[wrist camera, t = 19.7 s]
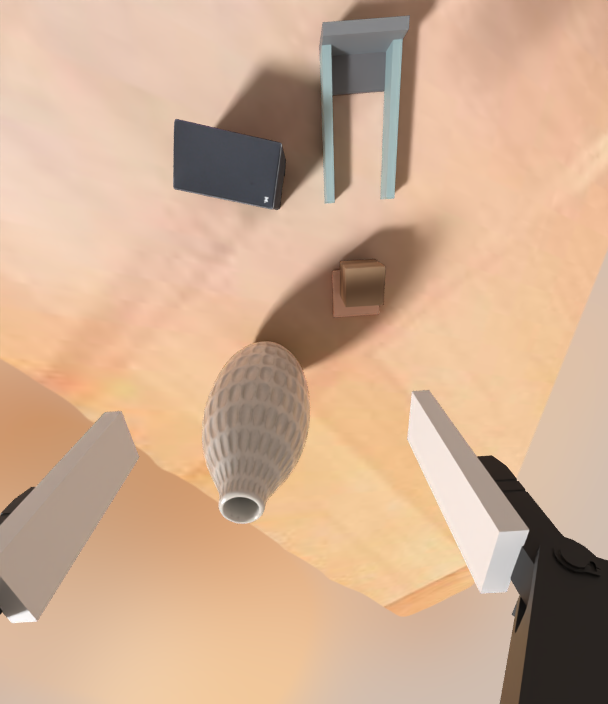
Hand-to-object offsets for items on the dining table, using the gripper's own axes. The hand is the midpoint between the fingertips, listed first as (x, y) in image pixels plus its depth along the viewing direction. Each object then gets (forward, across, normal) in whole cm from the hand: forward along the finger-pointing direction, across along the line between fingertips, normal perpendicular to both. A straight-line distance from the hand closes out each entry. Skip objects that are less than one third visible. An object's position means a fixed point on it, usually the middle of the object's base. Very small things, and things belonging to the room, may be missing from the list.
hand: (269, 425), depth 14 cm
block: (+34, +10, -1) cm, 36 cm away
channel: (+35, +10, +16) cm, 40 cm away
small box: (+35, -5, +13) cm, 38 cm away
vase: (+35, -4, -14) cm, 38 cm away
